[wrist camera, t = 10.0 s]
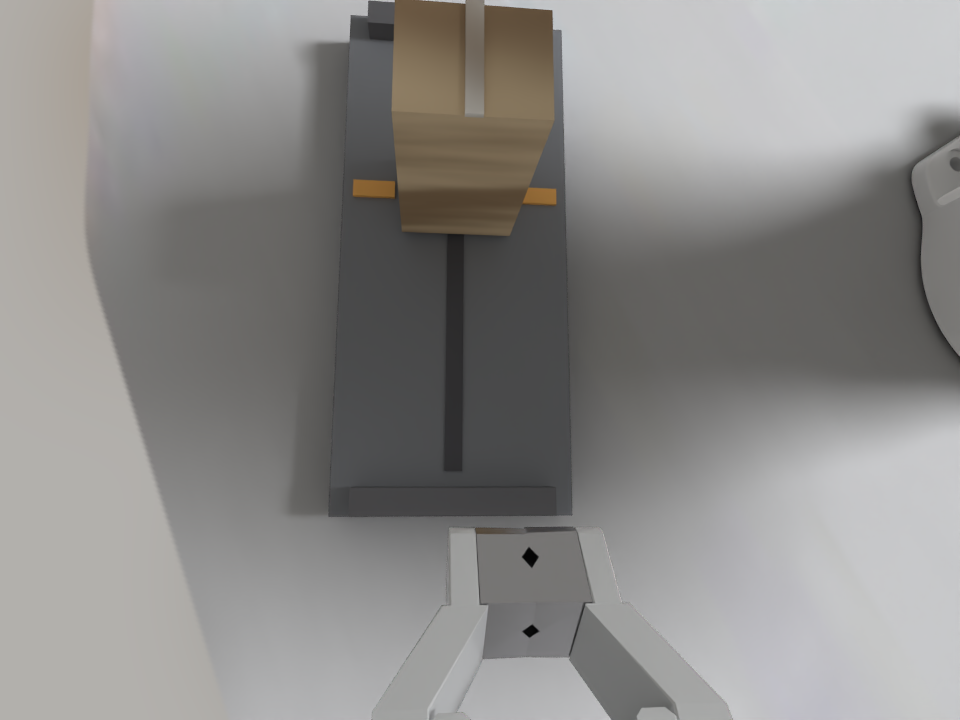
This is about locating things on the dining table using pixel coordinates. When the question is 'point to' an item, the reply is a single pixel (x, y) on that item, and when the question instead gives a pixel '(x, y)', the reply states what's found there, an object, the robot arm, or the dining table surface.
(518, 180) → the fader knob
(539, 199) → the fader track
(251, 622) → the dining table surface
